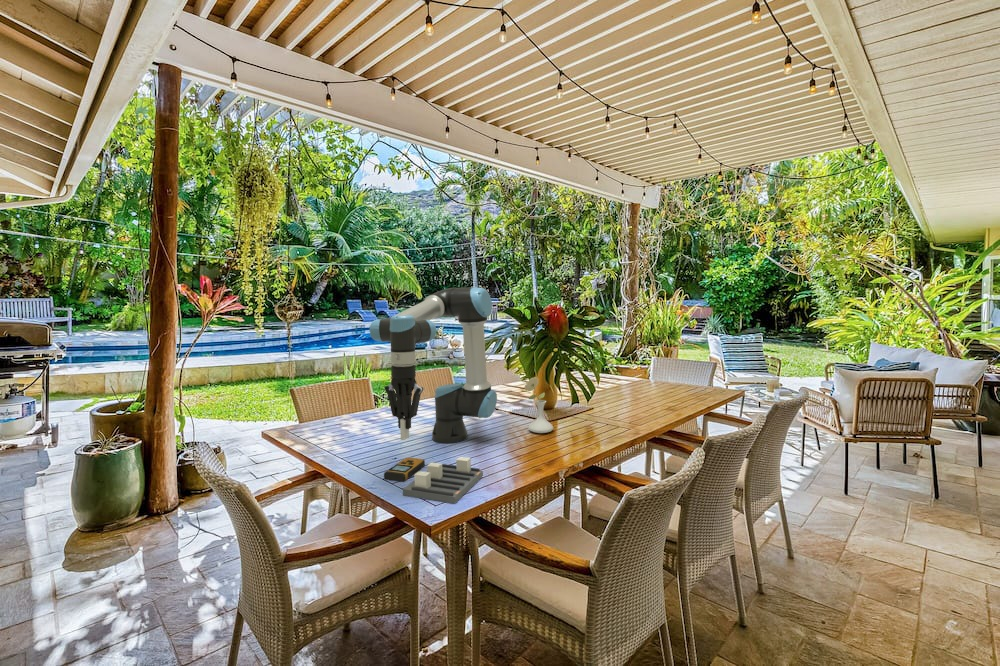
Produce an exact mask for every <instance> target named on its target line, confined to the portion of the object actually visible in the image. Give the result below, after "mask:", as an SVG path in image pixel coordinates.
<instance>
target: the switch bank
mask: <svg viewBox="0 0 1000 666" xmlns="http://www.w3.org/2000/svg"><path fill="white" fill-rule="evenodd" d="M441 464H442V474H443V477H442V478H441V479H436V478H431V487H430V488H428V489H427V488H420V487H415V479H414V480H413V481H411V482H410V483H409V484H408V485H406V486H405V487H404V488H402V496H404V497H405V496H406V497H411V498H418V499H423V500H429V501H434V502H435V501H437V502H442V503H447V504H448V503H449V504H454V505H455V504H457V502H458V501H459V500H461V498H463V496H465V494H467V493H468V492H469V491H468V490H469V489H470V488H471V487H472V486H473V485H474V484H475V483H476V482H477V481H478V480H479V479H480V478H481V477H482V476H483V477H484V470H481V469H480V468H476V467H471V471H470V472H469V473H468V472H461V471H456V465H454V464H447V463H441ZM483 477H482V478H483ZM482 478H481V479H482ZM481 479H480V480H481ZM480 480H479V481H480ZM479 481H478V482H479ZM478 482H477V483H478ZM477 483H476V484H477ZM476 484H475V485H476ZM475 485H474V486H475ZM474 486H473V487H474ZM473 487H472V488H473ZM472 488H471V489H472ZM471 489H470V490H471ZM467 491H468V492H467Z"/></svg>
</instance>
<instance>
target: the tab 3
mask: <svg viewBox="0 0 1000 666" xmlns="http://www.w3.org/2000/svg"><path fill="white" fill-rule="evenodd" d="M455 461H456V463H455V464H456V465H455V466H456V471H461V472H468V473H469V472H470V471H471V468H472V463H471V462H472V459H471V457H465V456H459V457H458V458H456V459H455Z"/></svg>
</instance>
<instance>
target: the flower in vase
mask: <svg viewBox="0 0 1000 666" xmlns="http://www.w3.org/2000/svg"><path fill="white" fill-rule="evenodd" d="M539 381H540V379H539V377H537V376H534V377H531V378H530V379H528V381H526V384H525V385H524V391H526V392H531V391H533V390H534V393H535V394H532V395H530V396H529V398H528V400H534V402H535V404H536V405H537V418H535V419H534V420H533V421H532V422H531V423H530V424H529V425H528V427H527V429H528V430H529V431H531V432H533V433H536V434H537V433H538V434H546V433H549V432H552V431H553V430H554V426H553V424H552V423H550V421H548V420H547V419H546V418H545V416H544V407H545V405H546V403H547V400H544V399H543V398H544V397H545V395H546V393H545V391H544V392H542V393H540V394H539V395H538V394H537V391H536V387H537V386H538V385H539ZM536 398H537V400H535V399H536Z"/></svg>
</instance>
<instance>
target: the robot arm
mask: <svg viewBox="0 0 1000 666" xmlns="http://www.w3.org/2000/svg"><path fill="white" fill-rule="evenodd" d="M492 301H493V300H492V298H491V296H490V294H489V292H488V290H487V289H485V288H483V287H475V286H472V287H449V288H445V289H442V290H439V291H436V292H434V293H431V294H430V295H428V296H426V297H425V298H424V300H423V301H421V302H419V303H417V304H415V305H412V306H411V307H409V308H407V309H405V310H403V311H401V312H399V313H396V314H394V315H392V316H390V317H388V318H385V319H383V318H380V319H375V320H373V321H372V322H371V323H370V326H369V335H370V337H371V339H372V340H374V341H376V342H381V343H386V342H387V343H389V342H390V363H391V367H390V376H391V381H390V384H388V385H386V386H384V391H385V392H386V394H387V398H388V402H389V407H390V411H391V415H392V417H396V418H397V425H398V429H400V440H401V441H402V440H403V441H406V440H407V439H410V429H412V418H414V417H416V416H418V410H419V405H420V399H421V395H422V393H423V392H424V387H423V386H419V385H418V384H417V380H416V375H417V373H416V365H415V364H416V344H422V343H423V344H424V343H425V344H426V343H428V342H431V341H432V340H433V339H435V337H436V335H437V327H436V325H435V323H434V322H433V321H431V320H432V319H439V318H442V317H458V318H457V319H458V323H459V324H460V325H461V326H462V334H463V335H462V337H463V351H464V352H463V353H464V366H465V369H464V370H465V381H466V382H465V383H464V385H463V384H462V383H450V384H449V383H447V384H443V385H441V386H437V387H436V388H435V395H434V401H435V406H434V407H435V408H434V409H435V421H434V422H435V423H434V427H433V430H432V432H431V440H432V441H433V442H436V443H439V444H441V443H442V444H455V443H461V442H463V441H465V440H467V439H468V431H467V428H466V425H465V422H464V417H470V418H478V419H481V418H482V419H488V418H490V417H491V416H492V415H493V414H494V412H495V409H496V406H497V402H498V395H497V392H496V391H495V390H494V389H492V385H491V383H490V382H488V373H487V359H486V340H485V326H484V325H485V324H486V322H488V317H490V316H491V315H492V310H493V302H492Z"/></svg>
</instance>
